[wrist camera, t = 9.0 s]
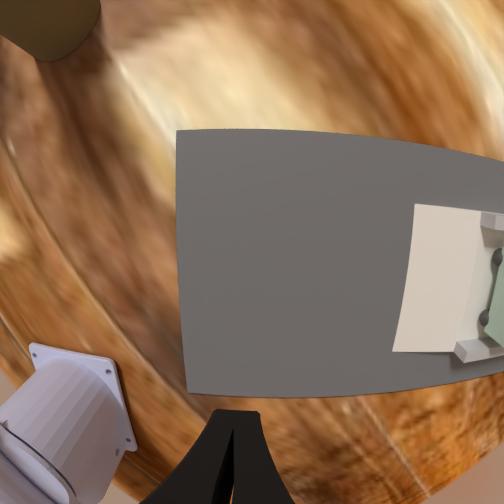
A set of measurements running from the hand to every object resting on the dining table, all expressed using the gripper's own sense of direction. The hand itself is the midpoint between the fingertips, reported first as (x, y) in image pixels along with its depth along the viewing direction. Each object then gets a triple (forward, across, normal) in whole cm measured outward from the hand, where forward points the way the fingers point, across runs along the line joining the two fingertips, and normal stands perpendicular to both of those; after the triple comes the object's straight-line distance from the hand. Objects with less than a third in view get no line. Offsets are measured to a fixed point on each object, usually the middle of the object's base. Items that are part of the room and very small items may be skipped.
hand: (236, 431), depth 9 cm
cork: (+10, +13, -19) cm, 25 cm away
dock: (+9, -10, -2) cm, 14 cm away
